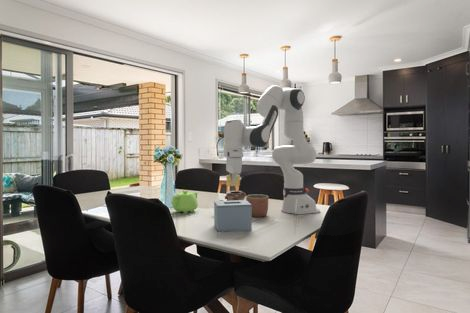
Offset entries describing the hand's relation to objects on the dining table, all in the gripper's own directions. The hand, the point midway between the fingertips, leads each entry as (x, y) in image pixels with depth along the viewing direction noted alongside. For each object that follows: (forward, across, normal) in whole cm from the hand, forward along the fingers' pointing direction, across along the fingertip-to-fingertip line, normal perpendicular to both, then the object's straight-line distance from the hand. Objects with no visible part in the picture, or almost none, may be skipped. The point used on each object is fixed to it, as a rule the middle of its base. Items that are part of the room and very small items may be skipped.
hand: (233, 182), depth 151 cm
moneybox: (+22, -1, 0) cm, 22 cm away
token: (+2, 0, 0) cm, 2 cm away
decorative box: (+21, -50, +10) cm, 56 cm away
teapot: (+22, -41, -21) cm, 51 cm away
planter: (+22, -23, +18) cm, 36 cm away
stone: (+22, -28, 0) cm, 35 cm away
